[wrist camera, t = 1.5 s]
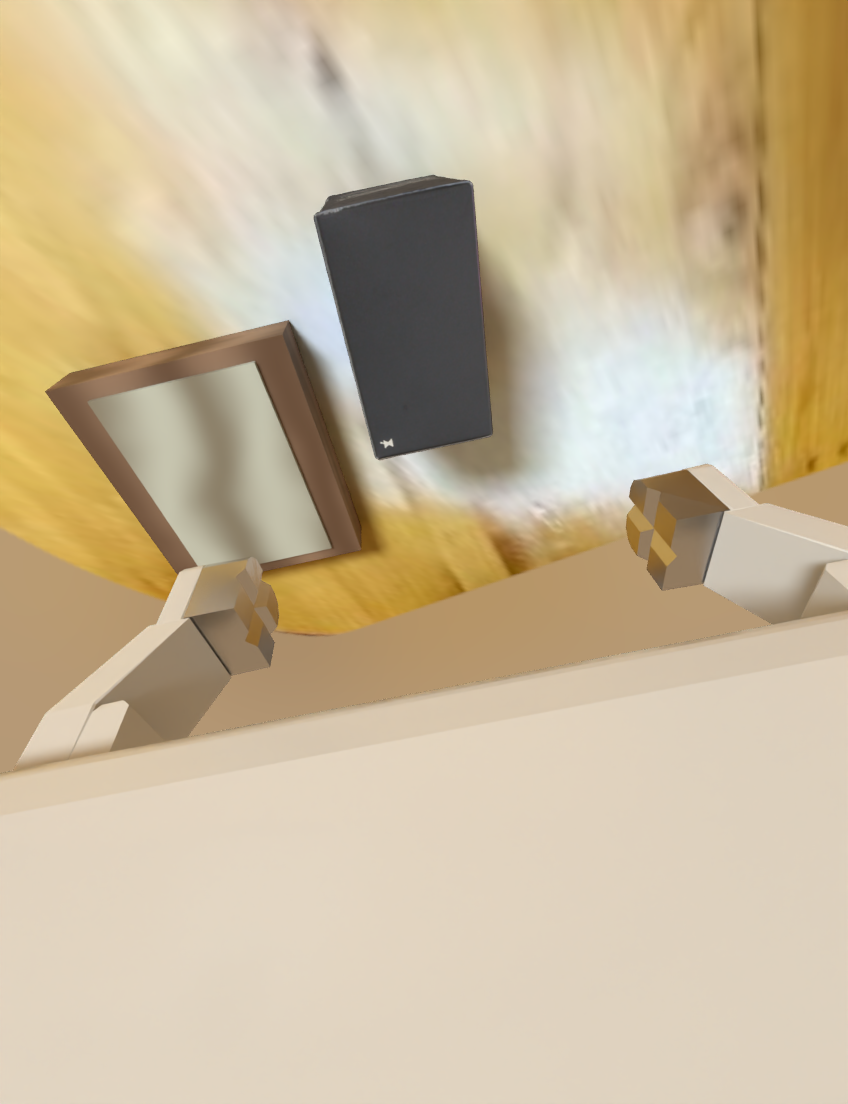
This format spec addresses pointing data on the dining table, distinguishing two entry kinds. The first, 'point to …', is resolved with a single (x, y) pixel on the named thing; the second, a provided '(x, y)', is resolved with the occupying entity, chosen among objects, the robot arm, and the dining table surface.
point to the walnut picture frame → (218, 450)
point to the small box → (411, 310)
